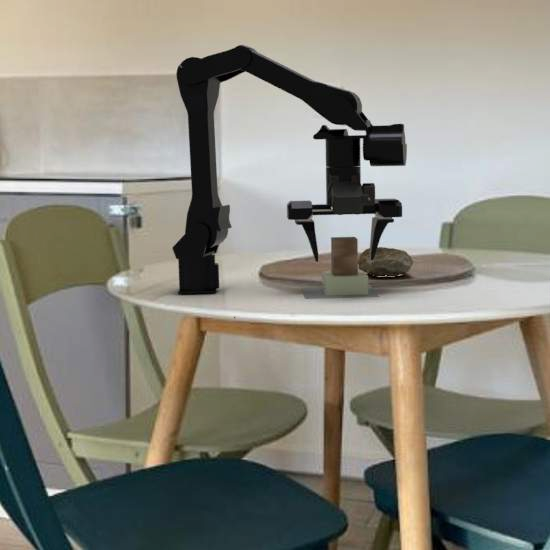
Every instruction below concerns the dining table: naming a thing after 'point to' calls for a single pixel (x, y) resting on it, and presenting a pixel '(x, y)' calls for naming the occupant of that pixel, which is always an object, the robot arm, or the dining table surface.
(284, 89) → the robot arm
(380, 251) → the stone
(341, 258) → the walnut block
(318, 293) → the build mat
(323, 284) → the base block
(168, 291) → the dining table surface
